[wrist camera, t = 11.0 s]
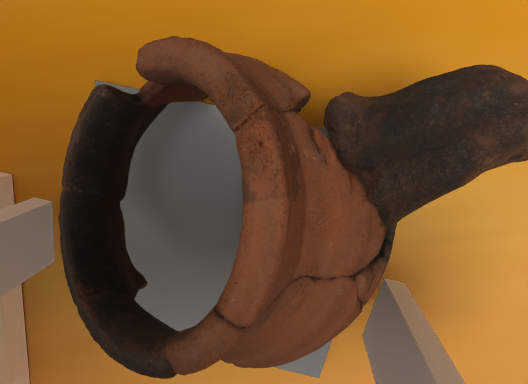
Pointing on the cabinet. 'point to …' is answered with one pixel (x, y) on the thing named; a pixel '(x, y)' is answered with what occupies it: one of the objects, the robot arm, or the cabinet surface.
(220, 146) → the slate mat
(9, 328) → the carton
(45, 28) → the cabinet surface
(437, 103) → the pottery mug
